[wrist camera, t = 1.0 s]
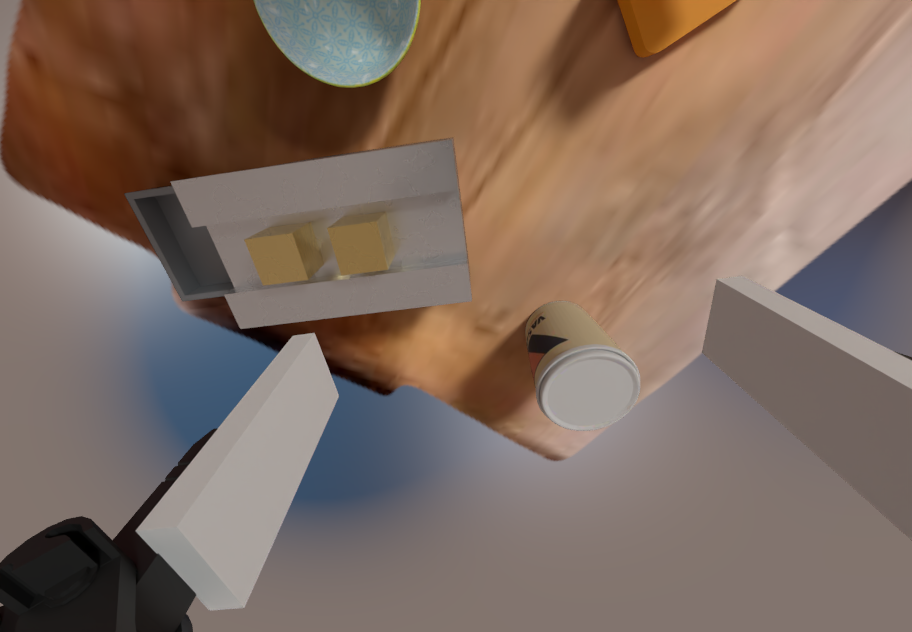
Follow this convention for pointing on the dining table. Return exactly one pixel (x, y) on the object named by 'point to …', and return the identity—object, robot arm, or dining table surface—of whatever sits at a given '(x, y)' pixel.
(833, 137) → the dining table surface
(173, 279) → the tray
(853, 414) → the robot arm
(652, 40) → the bracket
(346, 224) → the tan cube
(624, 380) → the coffee cup
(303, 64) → the bowl
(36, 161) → the dining table surface
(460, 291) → the rail block
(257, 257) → the chip
